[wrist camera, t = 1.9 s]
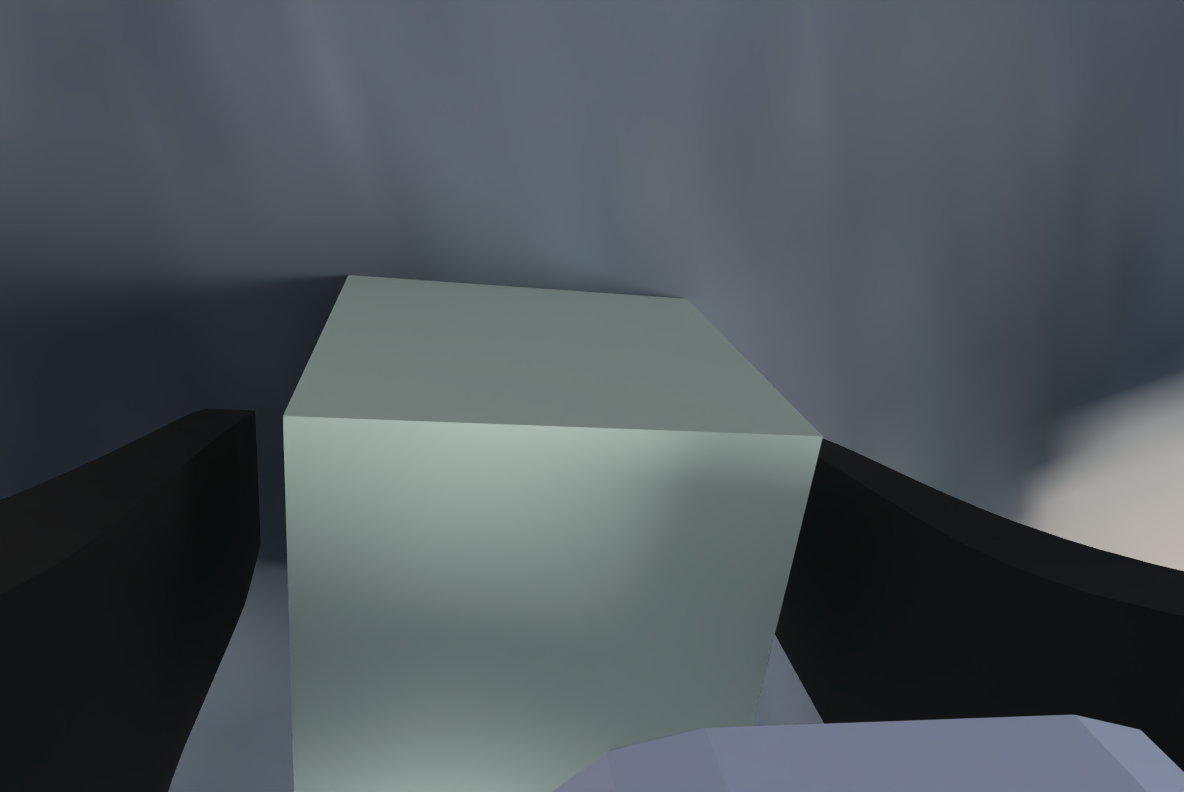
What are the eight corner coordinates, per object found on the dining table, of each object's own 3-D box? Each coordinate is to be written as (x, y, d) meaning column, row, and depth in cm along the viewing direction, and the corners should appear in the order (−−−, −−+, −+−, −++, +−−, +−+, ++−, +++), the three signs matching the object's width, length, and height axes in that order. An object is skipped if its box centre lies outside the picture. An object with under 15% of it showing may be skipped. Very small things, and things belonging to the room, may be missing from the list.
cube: (641, 570, 14) (731, 811, 10) (348, 569, 13) (295, 836, 9) (686, 298, 12) (822, 435, 8) (348, 273, 11) (282, 415, 7)
